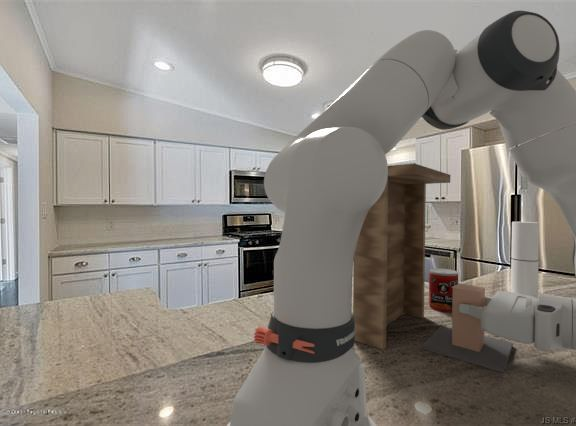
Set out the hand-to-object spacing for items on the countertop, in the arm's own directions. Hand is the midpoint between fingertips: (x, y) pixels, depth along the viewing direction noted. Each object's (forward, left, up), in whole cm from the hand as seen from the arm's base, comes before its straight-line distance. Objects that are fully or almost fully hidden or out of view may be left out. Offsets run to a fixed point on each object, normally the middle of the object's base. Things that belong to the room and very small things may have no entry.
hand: (463, 303), depth 65 cm
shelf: (+2, +12, -9) cm, 15 cm away
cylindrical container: (+53, -16, -9) cm, 56 cm away
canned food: (+26, +6, -9) cm, 28 cm away
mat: (0, -1, -9) cm, 9 cm away
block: (0, -1, -8) cm, 9 cm away
